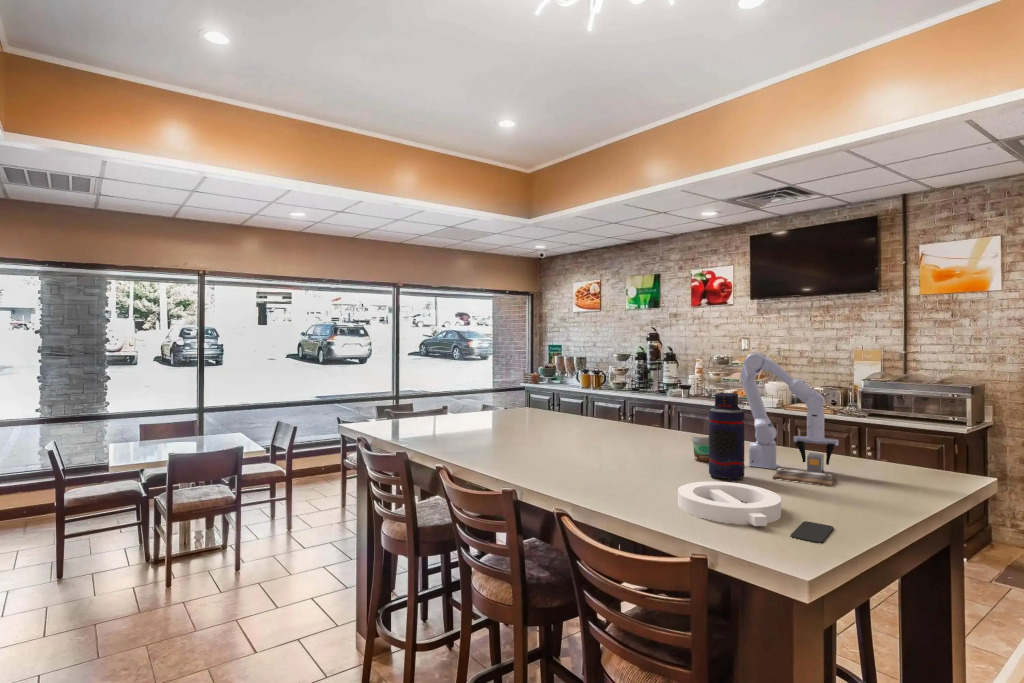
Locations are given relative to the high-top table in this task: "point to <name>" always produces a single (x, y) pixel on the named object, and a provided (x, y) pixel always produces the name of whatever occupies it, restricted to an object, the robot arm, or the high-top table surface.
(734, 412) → the navy bottle
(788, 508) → the high-top table surface
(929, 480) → the high-top table surface
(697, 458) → the food container
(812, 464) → the block
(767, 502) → the ring with crossbar
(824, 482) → the rail board
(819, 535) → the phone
